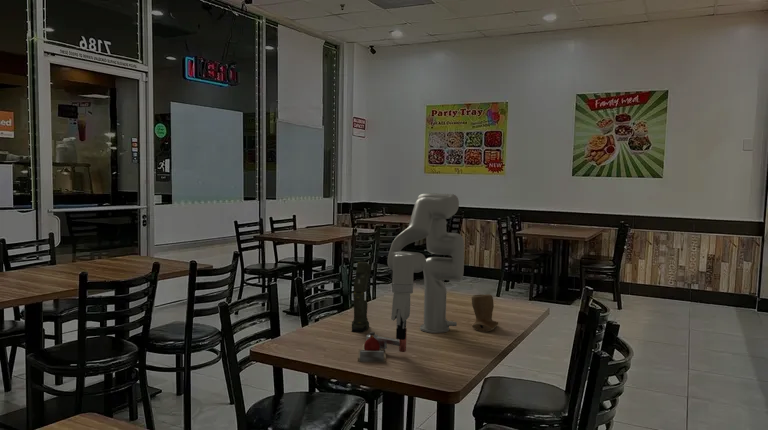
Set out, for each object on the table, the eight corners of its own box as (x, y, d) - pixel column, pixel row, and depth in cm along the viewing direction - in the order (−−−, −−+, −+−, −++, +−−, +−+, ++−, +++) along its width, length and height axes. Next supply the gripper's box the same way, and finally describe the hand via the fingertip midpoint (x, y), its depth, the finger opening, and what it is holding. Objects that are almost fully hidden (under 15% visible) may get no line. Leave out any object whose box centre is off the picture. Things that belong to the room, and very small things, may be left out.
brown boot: (475, 322, 261) (476, 290, 260) (500, 326, 256) (502, 293, 255) (465, 330, 247) (466, 296, 246) (492, 334, 242) (493, 299, 241)
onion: (363, 354, 210) (363, 332, 210) (379, 354, 211) (379, 332, 210) (364, 359, 205) (364, 337, 204) (380, 359, 205) (380, 337, 205)
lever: (364, 345, 215) (364, 323, 214) (369, 343, 219) (370, 321, 218) (403, 353, 207) (403, 330, 206) (408, 350, 211) (408, 327, 210)
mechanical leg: (363, 332, 236) (368, 260, 241) (346, 331, 238) (352, 259, 243) (370, 332, 250) (375, 264, 255) (354, 331, 251) (359, 263, 256)
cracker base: (384, 347, 219) (385, 330, 219) (385, 361, 202) (386, 343, 202) (358, 347, 219) (359, 330, 219) (357, 361, 202) (357, 342, 202)
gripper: (397, 284, 213) (395, 333, 214) (387, 290, 199) (385, 343, 199) (417, 286, 211) (415, 335, 212) (408, 292, 197) (406, 345, 197)
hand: (400, 338), depth 206 cm, fingers closed
